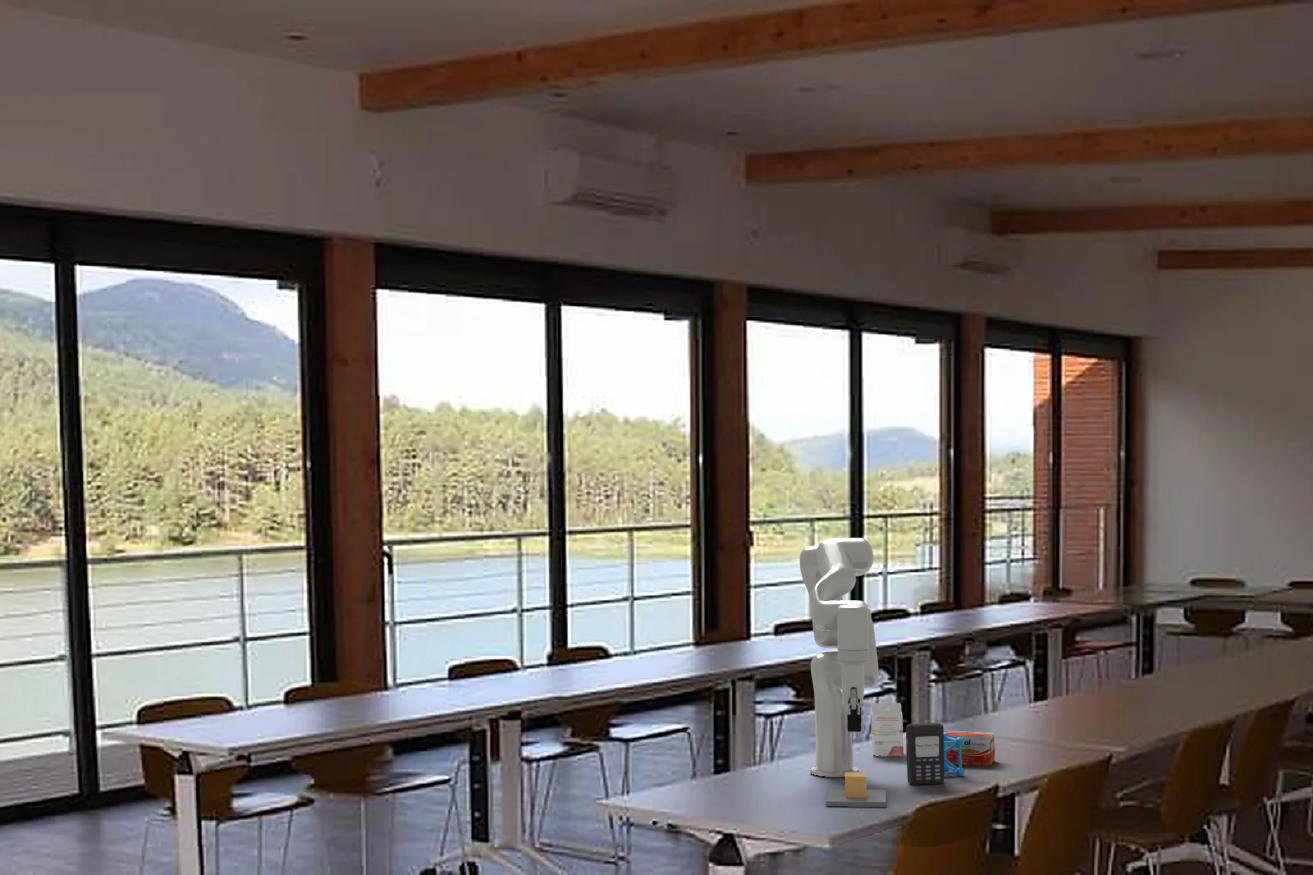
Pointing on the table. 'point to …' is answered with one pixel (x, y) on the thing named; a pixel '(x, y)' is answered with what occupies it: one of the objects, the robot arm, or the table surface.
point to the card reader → (925, 753)
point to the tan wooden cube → (855, 785)
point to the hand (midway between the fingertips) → (854, 727)
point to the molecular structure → (959, 743)
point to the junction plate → (856, 799)
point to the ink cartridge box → (887, 729)
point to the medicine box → (972, 748)
